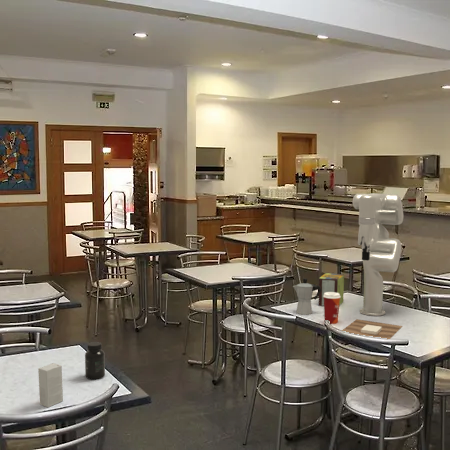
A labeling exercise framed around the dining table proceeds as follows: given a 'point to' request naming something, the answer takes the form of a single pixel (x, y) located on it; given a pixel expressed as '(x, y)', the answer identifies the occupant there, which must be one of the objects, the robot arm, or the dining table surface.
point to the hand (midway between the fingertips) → (365, 259)
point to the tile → (371, 329)
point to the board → (386, 331)
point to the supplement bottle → (94, 361)
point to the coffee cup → (331, 306)
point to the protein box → (331, 286)
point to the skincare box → (50, 385)
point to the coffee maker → (305, 296)
